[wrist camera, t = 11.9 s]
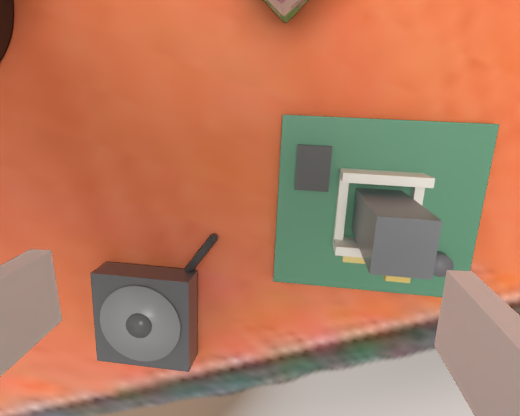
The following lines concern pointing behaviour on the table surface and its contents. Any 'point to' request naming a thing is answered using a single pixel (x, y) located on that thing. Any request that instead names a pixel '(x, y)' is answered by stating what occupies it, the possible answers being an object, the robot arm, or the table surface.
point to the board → (376, 177)
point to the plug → (395, 234)
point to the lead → (201, 253)
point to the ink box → (285, 8)
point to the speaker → (145, 315)
